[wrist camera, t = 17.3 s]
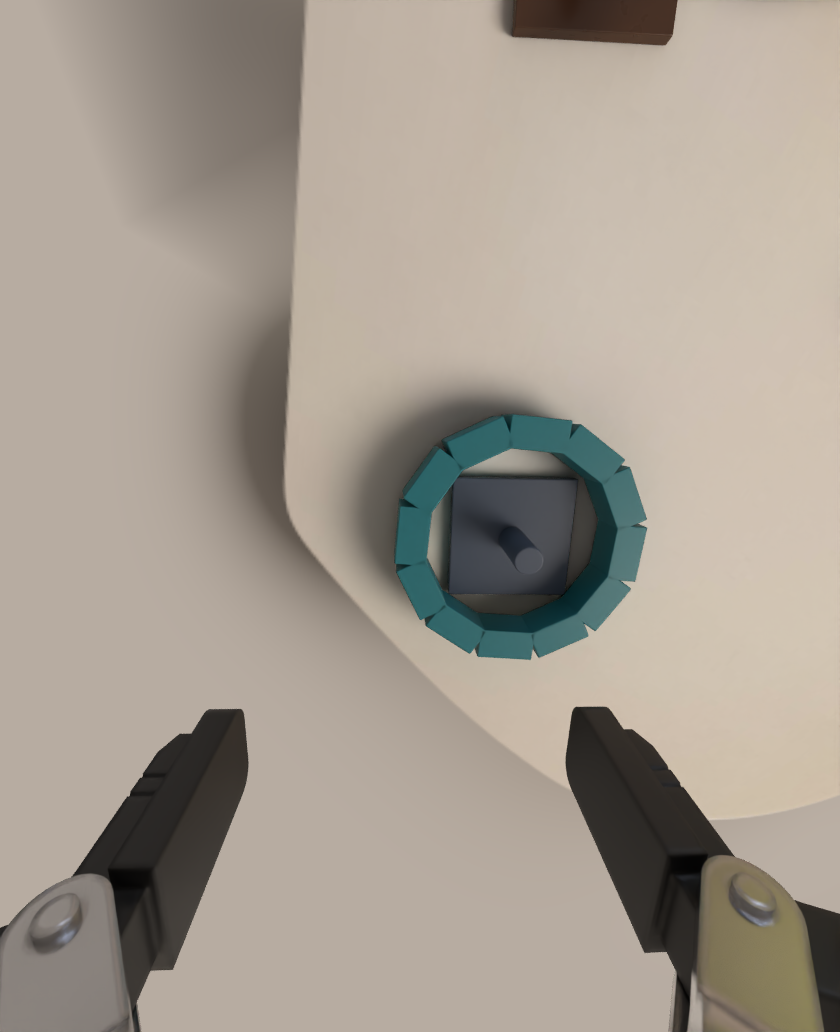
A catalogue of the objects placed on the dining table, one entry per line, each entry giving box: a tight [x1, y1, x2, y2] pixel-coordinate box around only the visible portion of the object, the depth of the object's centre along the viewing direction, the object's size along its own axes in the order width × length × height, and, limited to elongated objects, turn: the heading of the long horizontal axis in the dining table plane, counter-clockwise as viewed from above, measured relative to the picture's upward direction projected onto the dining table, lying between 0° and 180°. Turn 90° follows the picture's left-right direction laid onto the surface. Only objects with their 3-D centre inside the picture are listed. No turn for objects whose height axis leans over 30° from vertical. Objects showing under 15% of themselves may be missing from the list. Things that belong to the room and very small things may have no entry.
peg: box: [448, 476, 578, 595], centre depth 25 cm, size 8×8×4 cm
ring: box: [394, 414, 647, 660], centre depth 26 cm, size 14×14×2 cm
